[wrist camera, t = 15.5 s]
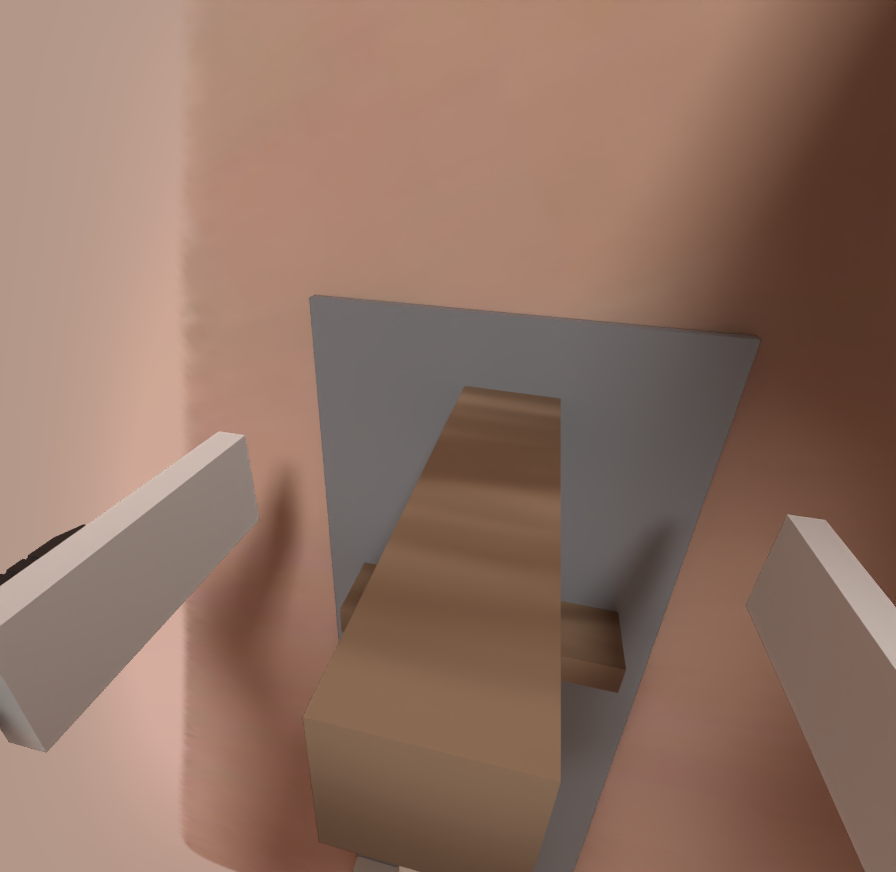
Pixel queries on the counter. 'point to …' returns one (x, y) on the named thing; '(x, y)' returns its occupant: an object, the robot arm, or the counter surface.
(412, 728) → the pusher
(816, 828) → the counter surface
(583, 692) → the grey board
